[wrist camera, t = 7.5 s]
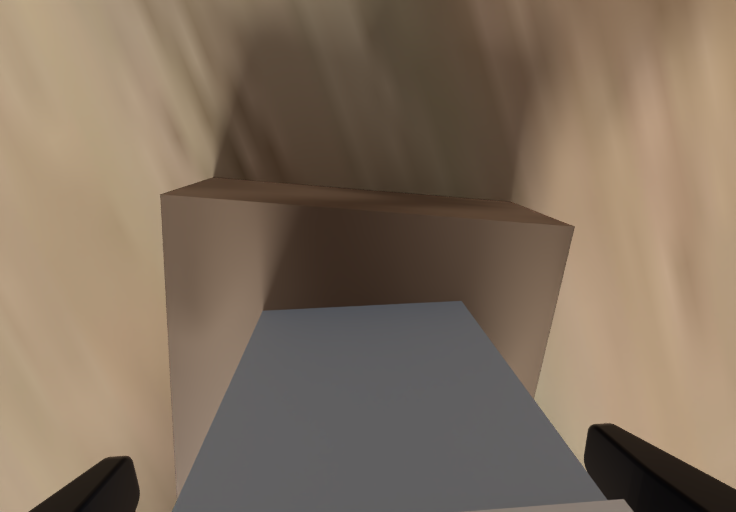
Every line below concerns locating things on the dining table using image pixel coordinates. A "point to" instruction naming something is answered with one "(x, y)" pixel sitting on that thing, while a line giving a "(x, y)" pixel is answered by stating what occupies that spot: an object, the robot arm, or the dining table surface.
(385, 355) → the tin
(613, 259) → the dining table surface
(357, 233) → the walnut block
